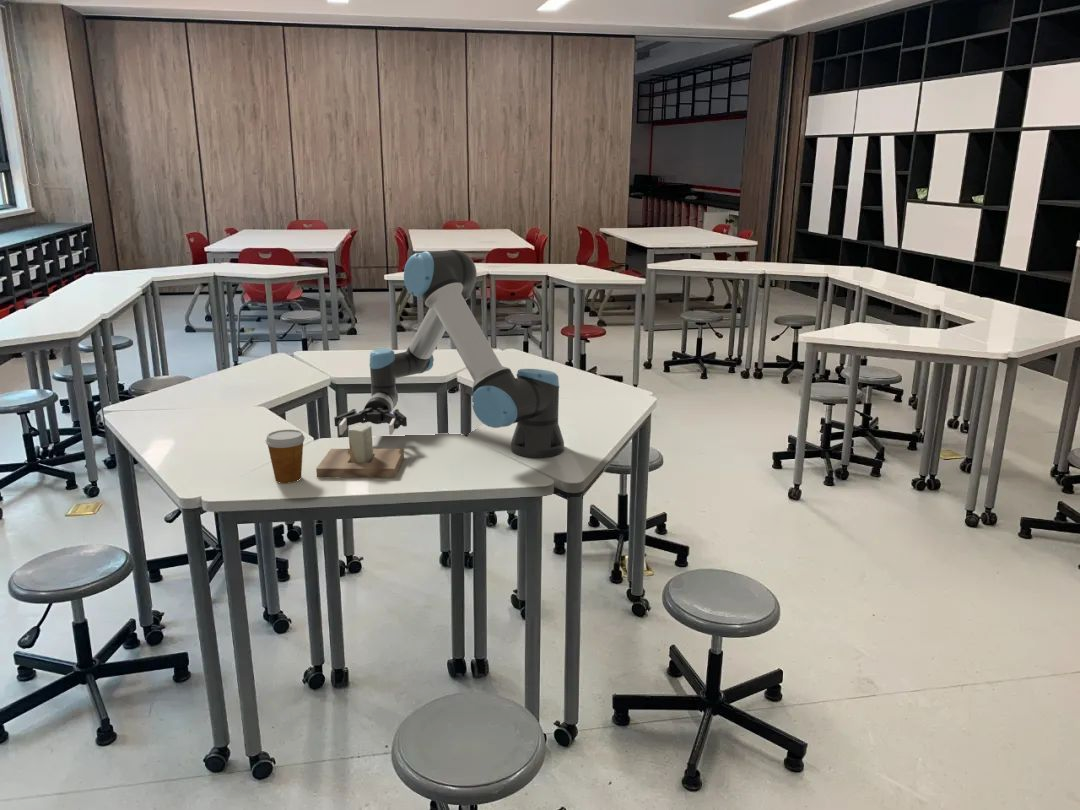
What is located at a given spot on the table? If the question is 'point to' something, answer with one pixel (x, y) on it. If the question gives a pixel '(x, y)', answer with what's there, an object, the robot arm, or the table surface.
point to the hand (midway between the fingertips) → (365, 429)
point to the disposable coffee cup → (286, 454)
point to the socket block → (361, 464)
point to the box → (360, 444)
